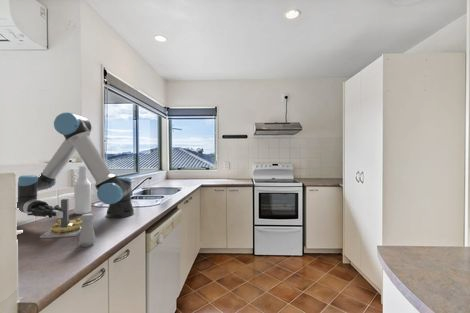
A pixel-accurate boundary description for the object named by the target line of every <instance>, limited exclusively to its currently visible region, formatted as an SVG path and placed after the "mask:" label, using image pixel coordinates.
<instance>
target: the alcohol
mask: <svg viewBox="0 0 470 313" xmlns="http://www.w3.org/2000/svg"><path fill="white" fill-rule="evenodd" d="M78 169H79V170H78V179H77V180H76V181H75V183H74V192H73V193H74V195H73V197H74V198H73V200H74V201H73V202H74V204H73V206H74V208H73V213H74V214H75V215H83V214H88V213H91V211H92V184H91V181H89V179H88V172H87V170H88V168H87V166H86V165H82V164H81V165H79V167H78Z"/></svg>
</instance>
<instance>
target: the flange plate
mask: <svg viewBox="0 0 470 313" xmlns="http://www.w3.org/2000/svg"><path fill="white" fill-rule="evenodd" d="M80 232H81V228H80V229H77V230H73V231H68V232H51V229H49V230H48V231H46V232H44V233H43V234H41V235H39V239H49V238H50V239H51V238H52V239H53V238H64V237H66V238H67V237H77V236H78V235H80Z"/></svg>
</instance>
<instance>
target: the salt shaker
mask: <svg viewBox="0 0 470 313" xmlns="http://www.w3.org/2000/svg"><path fill="white" fill-rule="evenodd" d="M80 218H81V220H82V221H83V222H82V227H81V232H80V233H79V238H78V243H79V245H80V247H82V248H86V247H91V246H93V245H94V242H95V240H96V234H95V230H94V226H93V222H92V220H93V219H94V214H93V213H91V212H89V213H87V214H81V216H80Z"/></svg>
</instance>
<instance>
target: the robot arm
mask: <svg viewBox="0 0 470 313" xmlns="http://www.w3.org/2000/svg"><path fill="white" fill-rule="evenodd" d="M53 127H54V129H55V131H56V132H57V133H58V134H60V135H63V137H64V140H63V142H62V143H61V144H60V145H59V148H58V149H57V150H56V151H55V153H54V155H53V156H52V158H51V159H50V160H49V161H48V162H47V164H46V165H45V167H44V168H43V170H42V171H43V172H42V171H41V173H40V174H41V176H40V175H39V176H40V177H39V176H38V175H35V174H25V175H20V176H18V180H17V199H18V202H17V208H19V210H20V211H21V212H20V211H19V212H20V213H25V214H27V216H33V217H43V218H46V217H48V219H50V218H53V217H54V218H57V219H61V218H63V212H62V211H61V206H60V205H59V204H57V205H54V206H53V205H49V204H48V202H46V201H42V200H40V199H38V192H39V191H40V192H41V191H44V190H48V188H49V189H51V188H53V187H54V186H56V181H57V180H56V179H57V177H58V176H60V173H61V172H62V171H63V169H64V168H65V166H66V165H67V164H68V162H69V160H70V159H71V158H72V156H73V155H74V154H75V152H77V153H78V154H79V156H80V158H81V159H82V161H83V163H84V164H85V165H86V167H87V168H86V169H87V170H88V171H89V172H90V175H91V176H92V178H93V179H94V181H95V183H94V187H95V189H96V190H97V192H96V196H97V198H98V199H97V200H99V201H100V202H101V203H103V204H106V205H108V207H107V211H106V217H107V218H112V219H116V218H117V219H119V218H125V217H130V216H132V215H134V213H135V210H134V206H133V204H132V179H131V178H130V177H118V176H117V175H116V174H114V173H112V172H111V170H110V168H109V167H108V165H107V163H106V162H105V160H104V158H103V157H102V155H101V153H100V152H99V150H98V149H97V147H96V145H95V143H94V142H93V141H92V138H90V135H91V132H92V124H91V122H90V120H89V119H88V118H87V117H85V116H82V115H79V114H76V113H73V112H62V113H60V114H58V115H57V116H56V117H55V118H54V120H53ZM52 186H53V187H52Z"/></svg>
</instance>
